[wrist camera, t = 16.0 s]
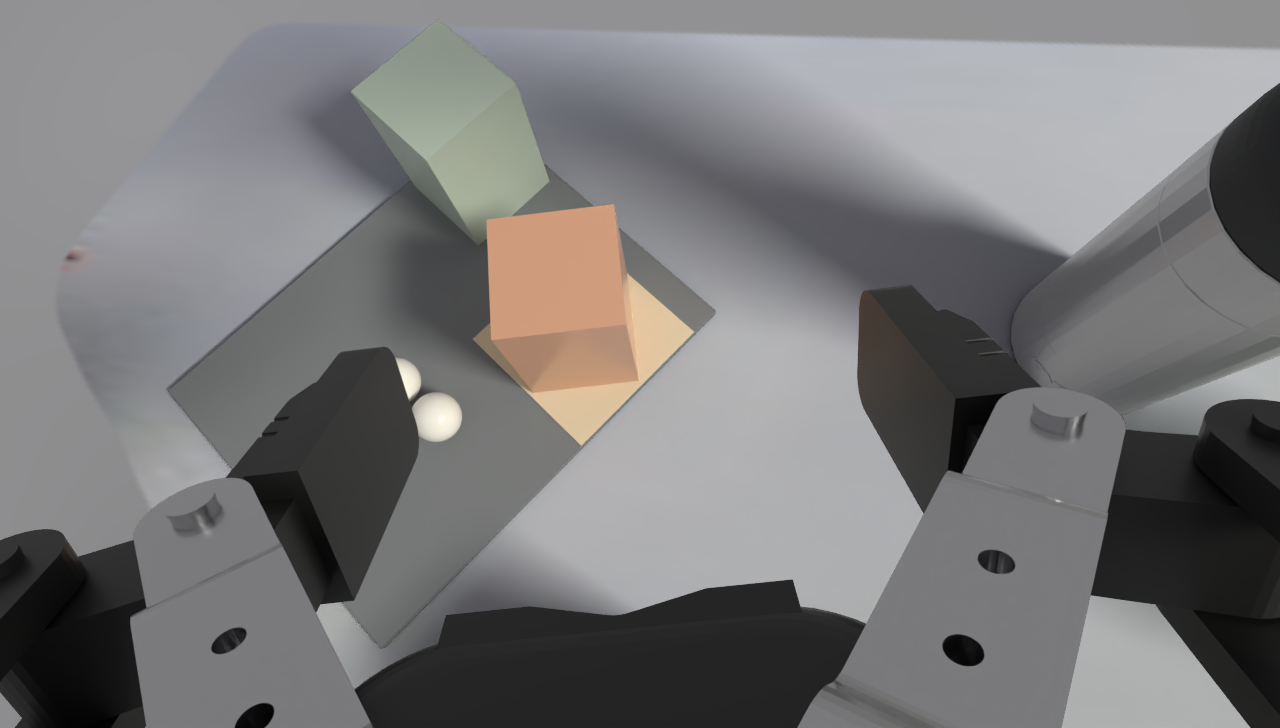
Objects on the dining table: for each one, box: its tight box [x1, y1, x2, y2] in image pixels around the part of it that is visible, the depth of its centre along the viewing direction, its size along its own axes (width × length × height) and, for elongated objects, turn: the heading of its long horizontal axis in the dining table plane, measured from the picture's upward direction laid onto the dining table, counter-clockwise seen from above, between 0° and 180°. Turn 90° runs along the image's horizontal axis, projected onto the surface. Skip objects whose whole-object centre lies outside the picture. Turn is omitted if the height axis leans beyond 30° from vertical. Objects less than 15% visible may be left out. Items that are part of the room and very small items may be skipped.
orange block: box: [486, 204, 639, 393], centre depth 40 cm, size 7×7×10 cm
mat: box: [168, 164, 715, 648], centre depth 45 cm, size 28×22×1 cm
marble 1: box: [395, 357, 421, 402], centre depth 43 cm, size 3×3×3 cm
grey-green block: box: [350, 19, 550, 246], centre depth 43 cm, size 7×7×10 cm
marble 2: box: [412, 392, 462, 442], centre depth 42 cm, size 3×3×3 cm
